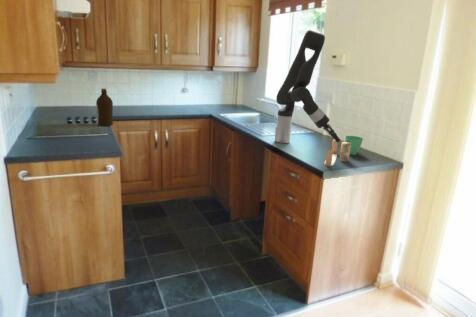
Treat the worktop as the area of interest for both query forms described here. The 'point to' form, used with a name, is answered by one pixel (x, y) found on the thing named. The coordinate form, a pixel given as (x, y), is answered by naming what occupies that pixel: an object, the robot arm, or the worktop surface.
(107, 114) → the olive oil
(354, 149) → the mug
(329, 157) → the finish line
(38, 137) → the worktop surface
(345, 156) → the brown upright block
